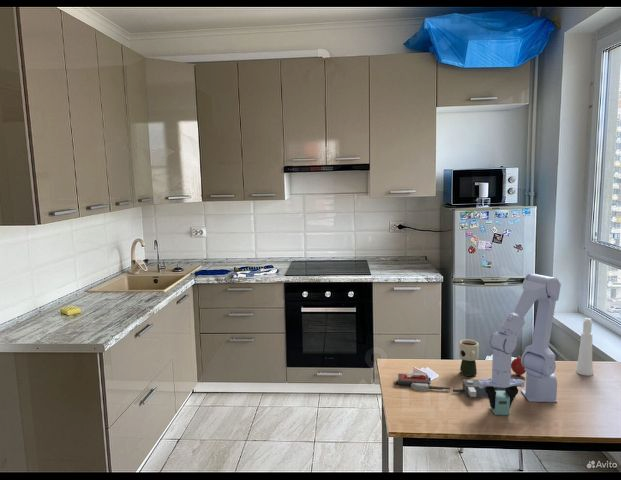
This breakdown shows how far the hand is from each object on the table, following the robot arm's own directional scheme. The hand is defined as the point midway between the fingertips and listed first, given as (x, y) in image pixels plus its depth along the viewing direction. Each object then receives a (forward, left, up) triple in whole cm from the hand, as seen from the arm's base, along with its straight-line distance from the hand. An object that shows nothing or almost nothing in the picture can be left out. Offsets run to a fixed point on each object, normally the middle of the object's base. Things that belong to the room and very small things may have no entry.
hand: (500, 407), depth 154 cm
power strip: (+2, -13, -2) cm, 13 cm away
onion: (-16, -28, -2) cm, 32 cm away
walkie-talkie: (+23, -19, -2) cm, 30 cm away
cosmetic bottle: (-42, -31, -2) cm, 52 cm away
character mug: (+3, -29, -2) cm, 29 cm away
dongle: (+7, -9, 0) cm, 11 cm away
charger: (0, 0, -2) cm, 2 cm away
